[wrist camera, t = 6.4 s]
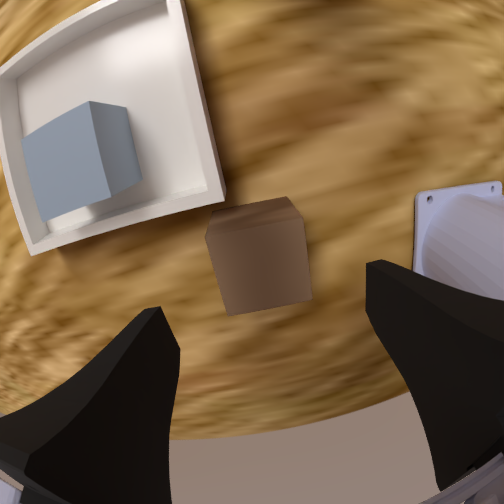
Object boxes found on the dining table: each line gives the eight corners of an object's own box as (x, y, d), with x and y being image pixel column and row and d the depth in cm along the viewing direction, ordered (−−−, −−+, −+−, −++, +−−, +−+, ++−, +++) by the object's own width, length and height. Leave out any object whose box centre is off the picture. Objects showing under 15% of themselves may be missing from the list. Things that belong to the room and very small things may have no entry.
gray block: (143, 179, 13) (111, 196, 9) (82, 200, 13) (42, 222, 10) (126, 107, 12) (88, 100, 8) (65, 134, 12) (20, 140, 8)
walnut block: (286, 196, 15) (302, 217, 11) (296, 262, 16) (312, 299, 13) (212, 210, 15) (205, 237, 11) (229, 275, 16) (227, 316, 13)
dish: (182, -7, 9) (174, -28, 7) (226, 189, 14) (224, 200, 12) (15, 77, 10) (-8, 74, 8) (51, 240, 15) (31, 256, 12)
